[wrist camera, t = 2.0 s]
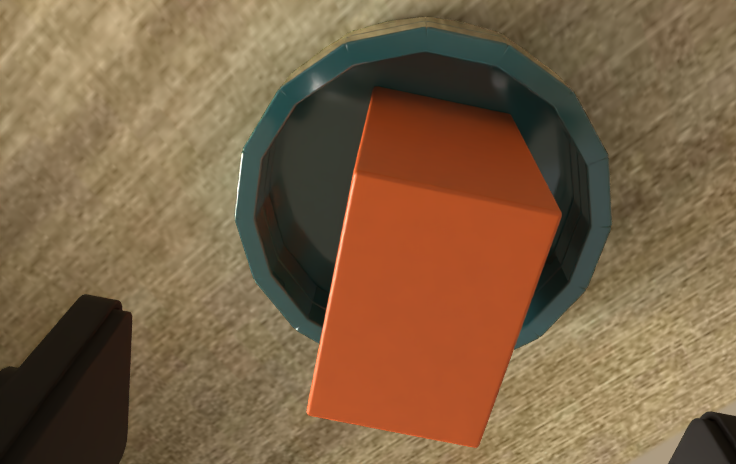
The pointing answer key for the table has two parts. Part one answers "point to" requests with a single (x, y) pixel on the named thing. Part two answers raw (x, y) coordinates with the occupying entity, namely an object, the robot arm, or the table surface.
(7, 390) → the robot arm
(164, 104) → the table surface
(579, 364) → the table surface
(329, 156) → the dish
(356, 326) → the block
